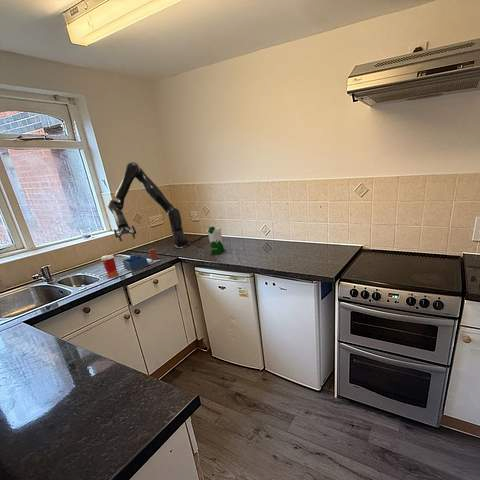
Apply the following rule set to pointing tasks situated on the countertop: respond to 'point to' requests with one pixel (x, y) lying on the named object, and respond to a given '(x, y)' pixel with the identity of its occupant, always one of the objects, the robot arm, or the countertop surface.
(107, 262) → the beer glass
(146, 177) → the robot arm
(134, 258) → the blue skittle
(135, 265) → the blue bin
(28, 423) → the countertop surface
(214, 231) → the milk carton
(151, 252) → the terracotta skittle
